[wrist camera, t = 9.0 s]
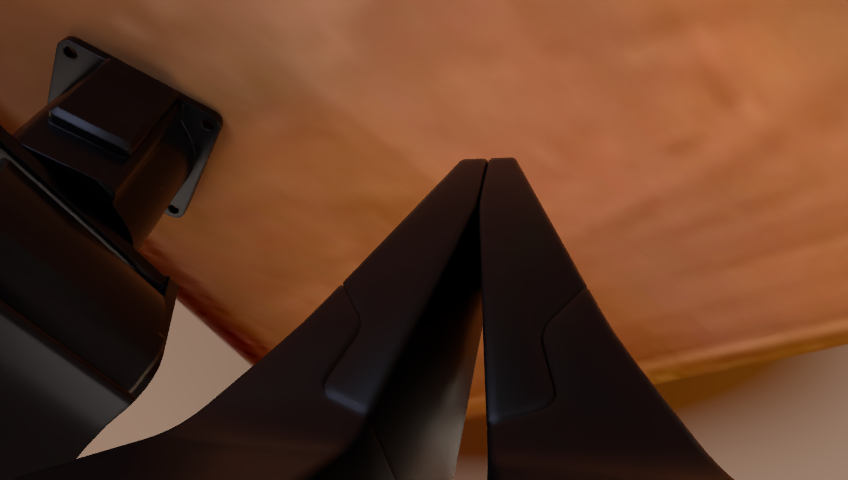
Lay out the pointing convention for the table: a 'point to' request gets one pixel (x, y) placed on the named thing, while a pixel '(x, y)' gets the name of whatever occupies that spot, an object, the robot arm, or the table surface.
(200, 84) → the table surface
